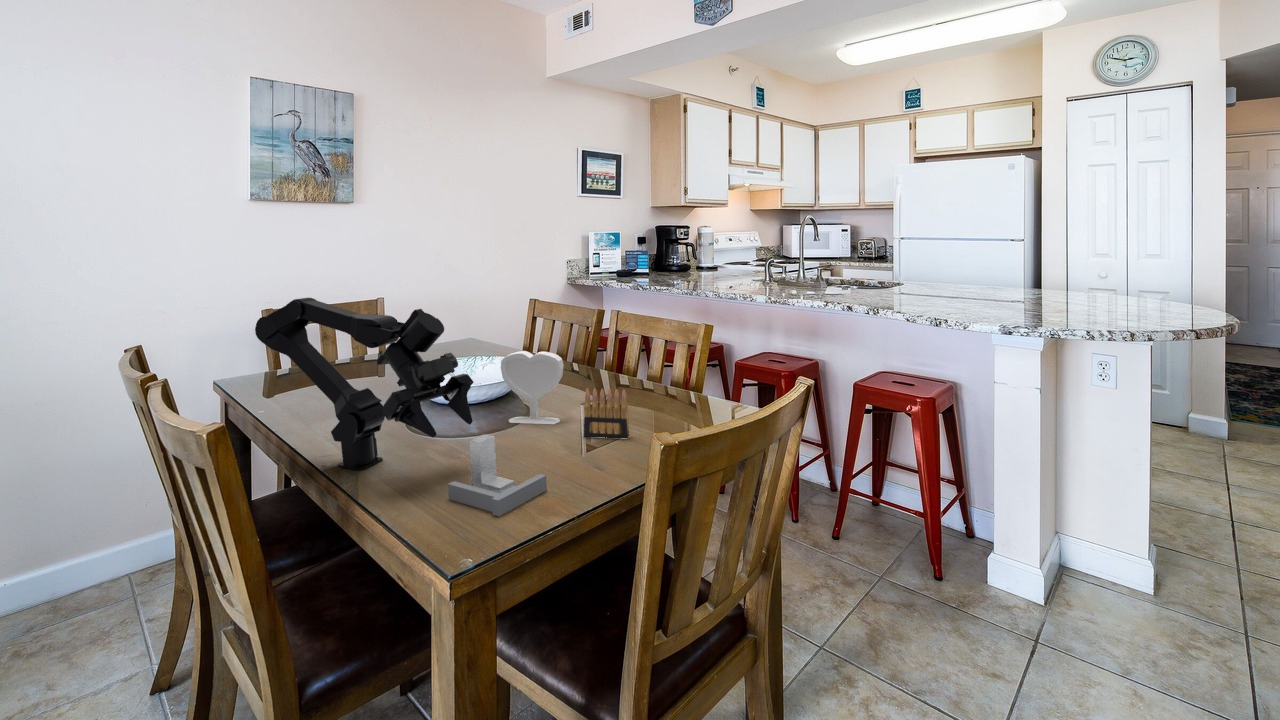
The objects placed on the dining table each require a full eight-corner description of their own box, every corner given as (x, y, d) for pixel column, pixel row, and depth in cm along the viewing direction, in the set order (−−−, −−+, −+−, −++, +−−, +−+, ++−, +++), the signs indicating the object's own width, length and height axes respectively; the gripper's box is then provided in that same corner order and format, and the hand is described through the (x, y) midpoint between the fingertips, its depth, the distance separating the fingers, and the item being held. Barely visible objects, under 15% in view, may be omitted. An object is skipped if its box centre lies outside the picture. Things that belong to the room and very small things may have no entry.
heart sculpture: (502, 422, 163) (498, 353, 159) (508, 416, 167) (505, 350, 164) (561, 424, 161) (559, 355, 157) (565, 418, 166) (563, 351, 162)
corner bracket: (445, 500, 116) (444, 485, 115) (495, 477, 126) (494, 462, 126) (499, 516, 109) (498, 500, 108) (546, 490, 120) (546, 475, 119)
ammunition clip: (629, 437, 151) (628, 388, 148) (627, 439, 149) (627, 390, 147) (585, 435, 152) (584, 386, 150) (583, 437, 151) (582, 388, 148)
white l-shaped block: (472, 490, 119) (469, 440, 117) (487, 483, 123) (484, 434, 121) (500, 498, 116) (497, 446, 114) (515, 490, 119) (512, 440, 117)
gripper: (386, 349, 113) (434, 417, 110) (464, 334, 129) (507, 393, 126) (362, 387, 119) (407, 452, 115) (439, 368, 134) (480, 425, 131)
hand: (453, 429), depth 122 cm, fingers open, 9 cm apart
